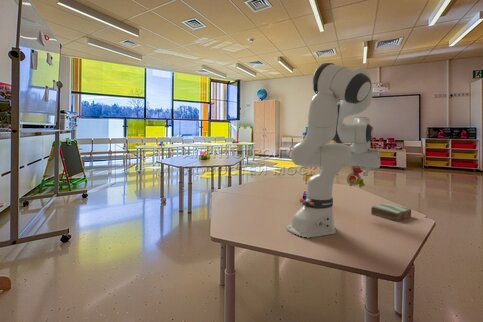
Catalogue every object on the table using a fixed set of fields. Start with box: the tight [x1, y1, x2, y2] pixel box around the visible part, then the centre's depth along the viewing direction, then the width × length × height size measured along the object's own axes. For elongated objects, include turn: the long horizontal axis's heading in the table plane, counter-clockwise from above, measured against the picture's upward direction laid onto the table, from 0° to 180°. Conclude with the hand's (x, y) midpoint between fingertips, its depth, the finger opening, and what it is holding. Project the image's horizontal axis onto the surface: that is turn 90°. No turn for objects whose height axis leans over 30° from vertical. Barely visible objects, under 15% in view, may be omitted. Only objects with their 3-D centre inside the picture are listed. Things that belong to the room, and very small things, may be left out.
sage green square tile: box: [370, 202, 412, 222], centre depth 131 cm, size 13×13×4 cm
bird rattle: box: [346, 166, 366, 188], centre depth 133 cm, size 6×11×9 cm
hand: (359, 175), depth 132 cm, fingers open, 5 cm apart
